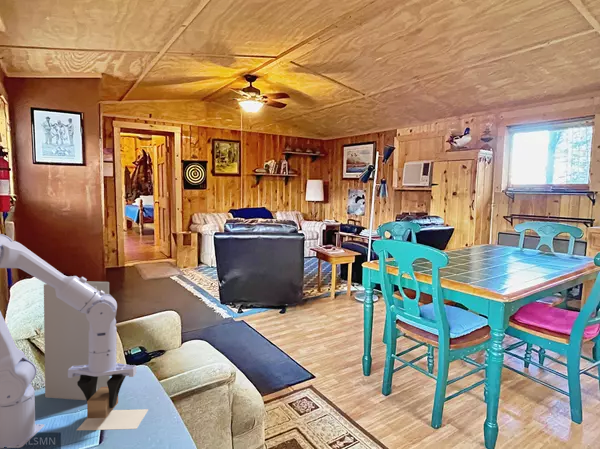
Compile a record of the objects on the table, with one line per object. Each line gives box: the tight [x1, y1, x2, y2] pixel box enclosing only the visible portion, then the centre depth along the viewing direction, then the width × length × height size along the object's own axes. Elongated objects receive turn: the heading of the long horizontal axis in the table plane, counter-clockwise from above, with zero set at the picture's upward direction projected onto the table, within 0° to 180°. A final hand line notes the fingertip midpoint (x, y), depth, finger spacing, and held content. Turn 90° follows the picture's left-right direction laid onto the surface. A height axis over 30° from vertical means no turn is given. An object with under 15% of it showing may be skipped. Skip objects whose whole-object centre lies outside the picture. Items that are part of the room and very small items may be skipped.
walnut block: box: [86, 387, 119, 419], centre depth 86 cm, size 7×4×4 cm, turn 4°
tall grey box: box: [43, 280, 111, 401], centre depth 97 cm, size 14×6×30 cm, turn 84°
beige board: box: [76, 408, 149, 431], centre depth 86 cm, size 13×8×1 cm, turn 94°
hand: (102, 406), depth 86 cm, fingers closed on walnut block, 4 cm apart
